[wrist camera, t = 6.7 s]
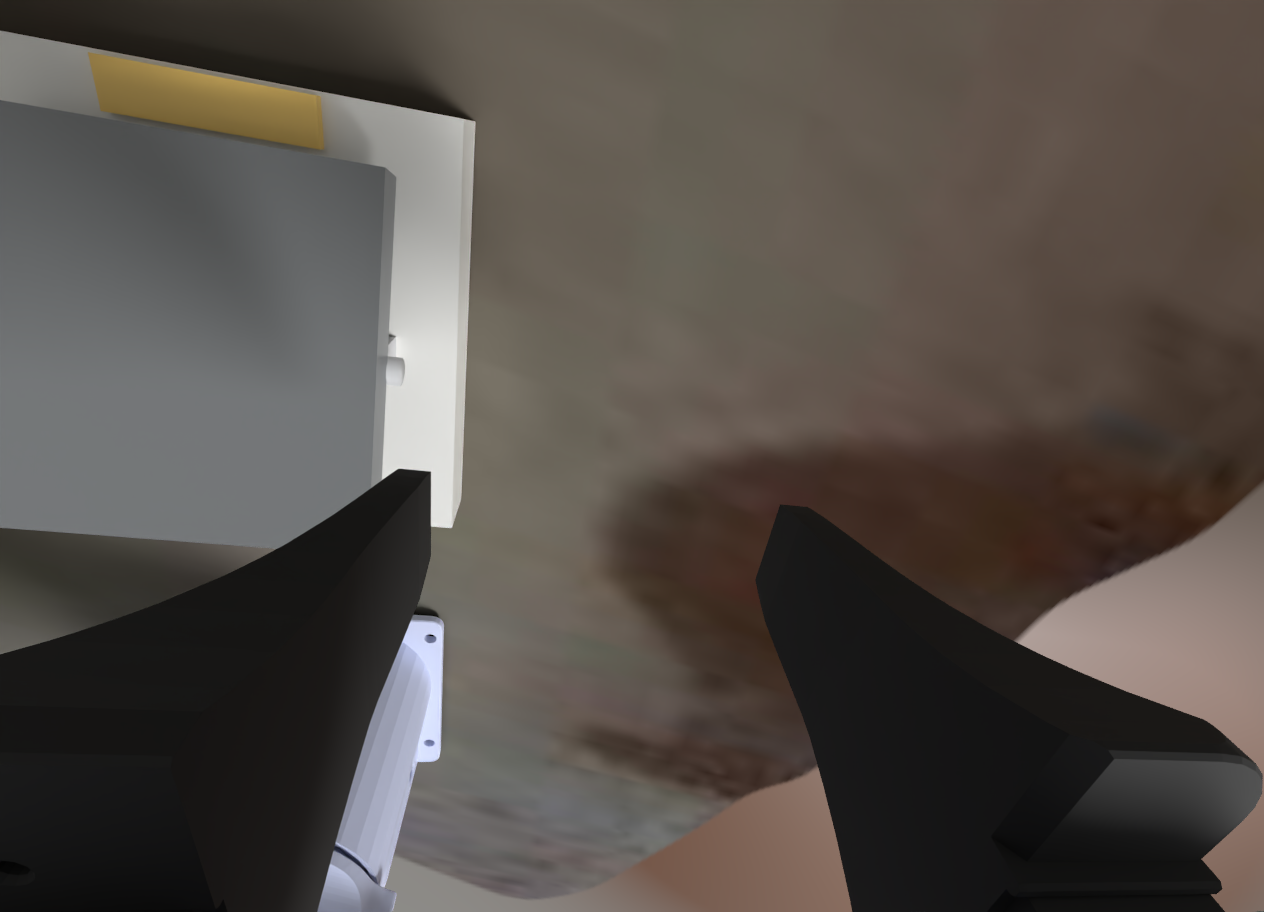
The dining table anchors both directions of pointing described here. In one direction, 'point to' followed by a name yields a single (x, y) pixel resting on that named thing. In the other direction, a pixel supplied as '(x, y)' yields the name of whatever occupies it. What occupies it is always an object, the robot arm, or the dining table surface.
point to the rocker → (187, 331)
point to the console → (336, 128)
